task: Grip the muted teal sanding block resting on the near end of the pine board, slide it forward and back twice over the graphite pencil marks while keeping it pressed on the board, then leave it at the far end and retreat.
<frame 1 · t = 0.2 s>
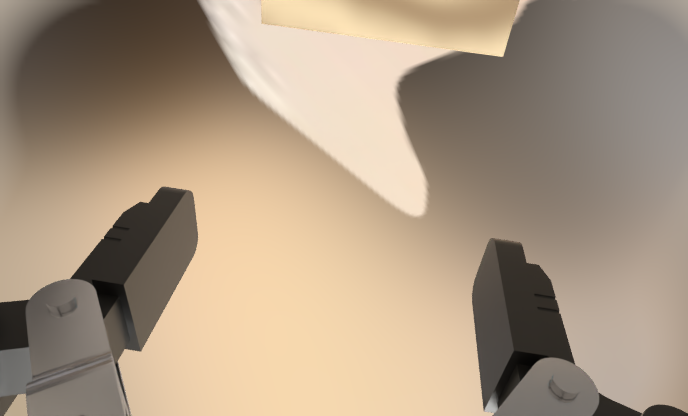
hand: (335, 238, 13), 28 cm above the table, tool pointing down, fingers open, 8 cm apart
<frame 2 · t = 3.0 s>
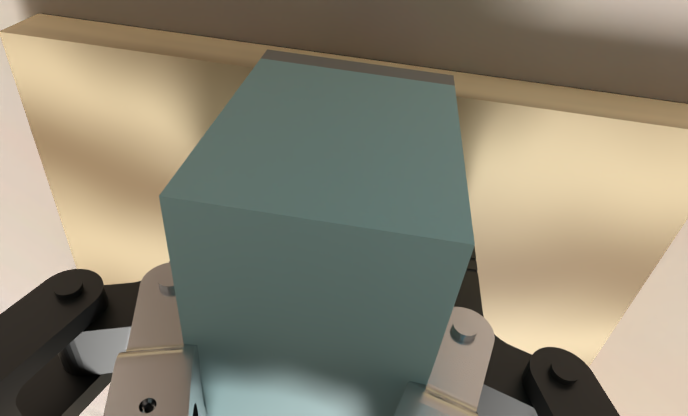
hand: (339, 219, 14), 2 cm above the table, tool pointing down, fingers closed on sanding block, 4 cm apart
sanding block: (342, 213, 14), point 2 cm above the table, touching board, gripper
board: (331, 325, 20), on the table
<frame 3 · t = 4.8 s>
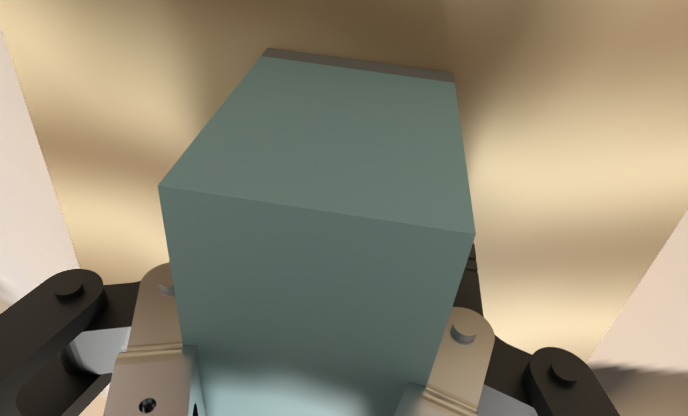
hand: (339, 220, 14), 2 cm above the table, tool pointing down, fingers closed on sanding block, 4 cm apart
sanding block: (342, 213, 14), point 2 cm above the table, touching gripper
board: (348, 181, 16), on the table
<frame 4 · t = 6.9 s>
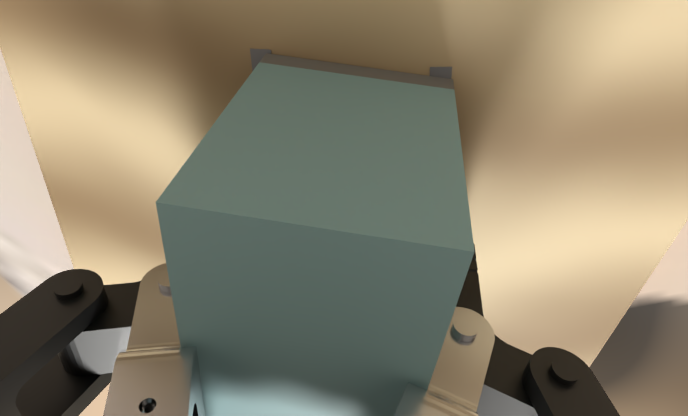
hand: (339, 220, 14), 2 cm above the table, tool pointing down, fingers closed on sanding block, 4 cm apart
sanding block: (341, 216, 14), point 2 cm above the table, touching board, gripper
board: (362, 58, 13), on the table
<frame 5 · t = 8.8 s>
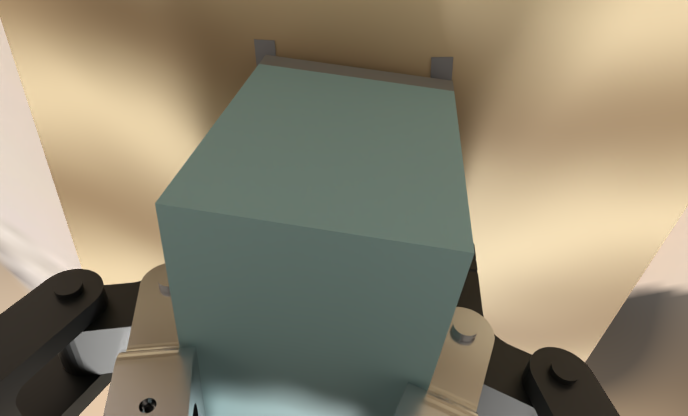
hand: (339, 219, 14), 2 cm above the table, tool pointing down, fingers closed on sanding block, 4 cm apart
sanding block: (341, 218, 14), point 2 cm above the table, touching gripper
board: (364, 49, 13), on the table
when the fingers open (2 cm above the table, at t = 10.6 s): sanding block stays where it is, resting on board.
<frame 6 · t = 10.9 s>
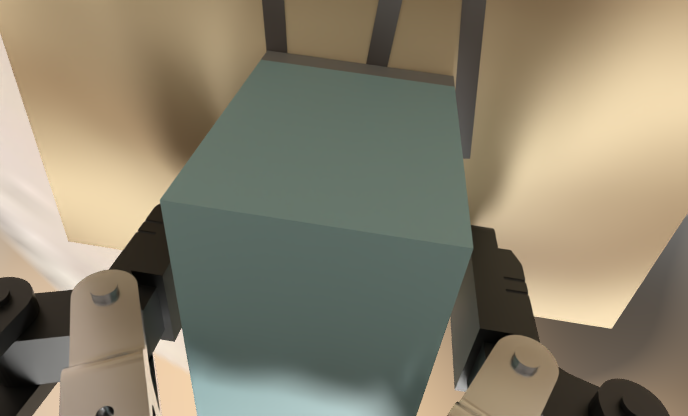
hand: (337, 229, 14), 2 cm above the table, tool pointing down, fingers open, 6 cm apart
sanding block: (342, 212, 14), point 2 cm above the table, touching board
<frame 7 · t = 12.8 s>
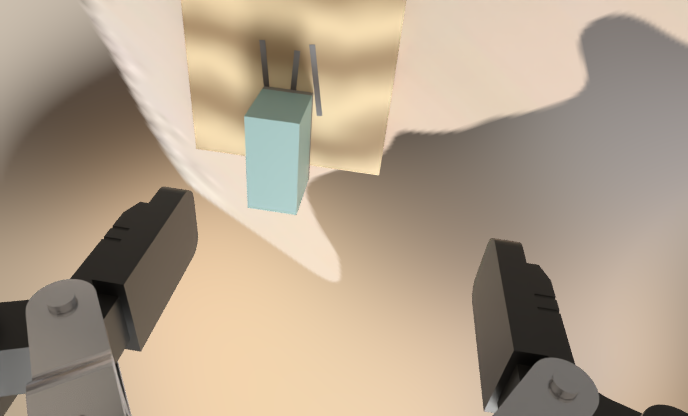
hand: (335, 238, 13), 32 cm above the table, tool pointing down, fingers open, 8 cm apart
sanding block: (287, 134, 46), point 2 cm above the table, touching board
board: (293, 43, 42), on the table
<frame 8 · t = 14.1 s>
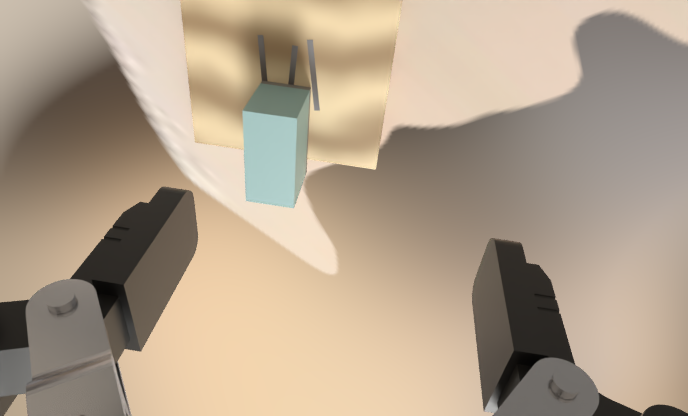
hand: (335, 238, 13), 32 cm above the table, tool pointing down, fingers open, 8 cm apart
sanding block: (285, 128, 46), point 2 cm above the table, touching board
board: (291, 38, 43), on the table
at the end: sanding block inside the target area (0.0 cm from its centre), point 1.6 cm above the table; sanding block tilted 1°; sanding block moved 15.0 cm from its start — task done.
